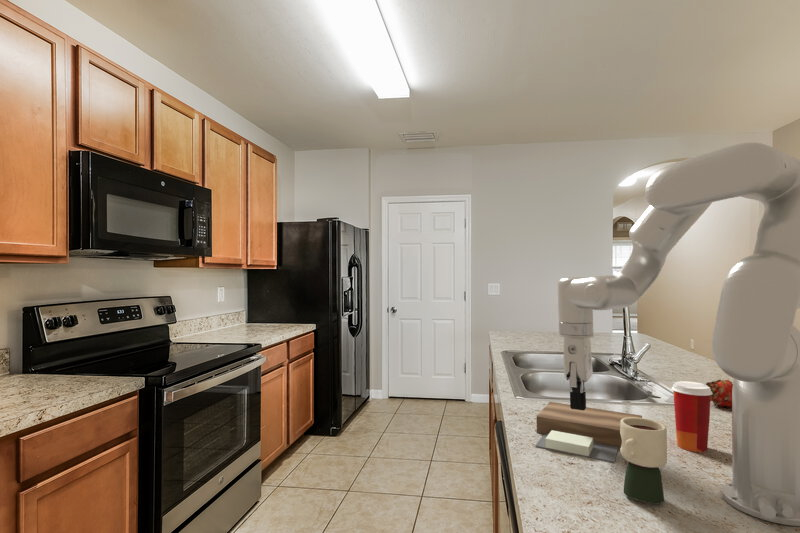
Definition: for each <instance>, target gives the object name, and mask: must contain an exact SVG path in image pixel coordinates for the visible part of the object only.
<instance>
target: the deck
mask: <svg viewBox="0 0 800 533" xmlns="http://www.w3.org/2000/svg"><path fill="white" fill-rule="evenodd" d="M629 417H636V418H643V415H640V414H635V413H634V414H633V413H628V412H627V413H626V412H620V411H615V410H606V409H602V408H593V407H587V406H586V409H585V410H575V409H571V408H570V404H566V403H561V402H555V401H549V402H548V404H546V405H545V407H544V408H543V409H541V411H540V412H539V413H538V414H537V415H536V433H537V434H542V435H544V434H545V433H548V434H549V433H550V432H551V431H552V430H553V431H559V432H564V433H570V434H575V435H581V436H586V437H591V438H593V442H596V443H601V444H607V445H612V446H617V447H618V449H621V444H622V439H621V435H620V422H621V419H623V418H629Z"/></svg>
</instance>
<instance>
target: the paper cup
mask: <svg viewBox="0 0 800 533" xmlns="http://www.w3.org/2000/svg"><path fill="white" fill-rule="evenodd" d="M670 389H671V390H672V391H673V407H674V418H675V421H674V422H675V433H676V443H677V446H678V448H680V449H683V450H685V451H688V452H693V453H706V452H707V451H708V446H709V445H708V444H709V442H708V441H709V430H710V429H709V428H710V419H711V417H710V415H711V413H710V412H711V401H710V400H711V395H712V394H713V393H712V391H711V389H710V387H708V386H707V385H706V383H705V384H704V383H701V382H696V381H695V382H694V381H685V380H683V381H682V380H681V381H675V382H674V383H673V384H672V387H671V388H670Z"/></svg>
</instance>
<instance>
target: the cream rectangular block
mask: <svg viewBox="0 0 800 533" xmlns="http://www.w3.org/2000/svg"><path fill="white" fill-rule="evenodd" d="M545 447H546V448H550V449H555V450H560V451H565V452H570V453H575V454H580V455H584V456H589V455H590V453H591V451H592V449H593V438H591V437H586V436H581V435H575V434H570V433H564V432H559V431H553V430H552V431H551V432H550V433H549V434H548V436H547V437H546V438H545Z"/></svg>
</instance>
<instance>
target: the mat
mask: <svg viewBox="0 0 800 533" xmlns="http://www.w3.org/2000/svg"><path fill="white" fill-rule="evenodd" d="M547 436H548V433H545V434H542V436H541V437H540V439H539V440H538V441H537V443H536V444H535V445H534V447H535V448H539V449H543V450H548V451H554V452H559V453H562V454H568V455H572V456H573V455H574V456H578V457H583V458H588V459H591V460H592V459H593V460H598V461H603V462H608V463H613V464H615V461H616V457H617V452H618V450H619V448H618V447H617V446H612V445H607V444H601V443H596V442H593V449H592V451H591V453H590V455H589V456H584V455H580V454H575V453H570V452H565V451H560V450H555V449H550V448H546V447H545V438H546V437H547Z"/></svg>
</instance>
